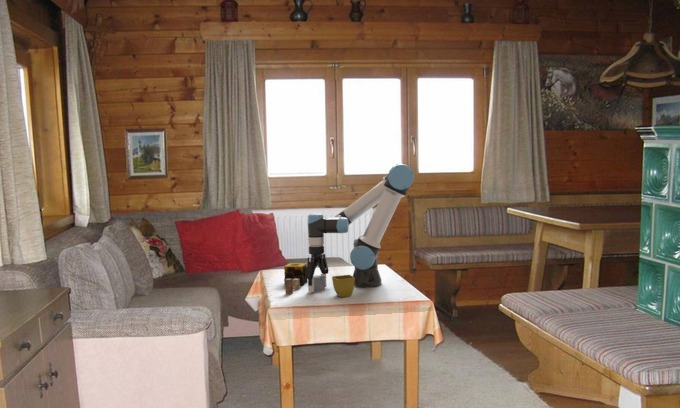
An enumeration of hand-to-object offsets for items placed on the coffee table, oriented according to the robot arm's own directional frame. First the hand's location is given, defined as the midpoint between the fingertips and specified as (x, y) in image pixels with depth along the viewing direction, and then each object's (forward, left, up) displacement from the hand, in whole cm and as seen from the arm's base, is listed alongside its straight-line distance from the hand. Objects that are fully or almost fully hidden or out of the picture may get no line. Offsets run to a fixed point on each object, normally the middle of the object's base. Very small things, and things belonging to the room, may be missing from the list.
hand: (317, 289), depth 310 cm
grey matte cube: (0, 0, 0) cm, 0 cm away
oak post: (+11, +2, 0) cm, 11 cm away
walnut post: (+9, +12, 0) cm, 15 cm away
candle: (+18, -10, 0) cm, 21 cm away
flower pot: (-18, +8, 0) cm, 20 cm away
